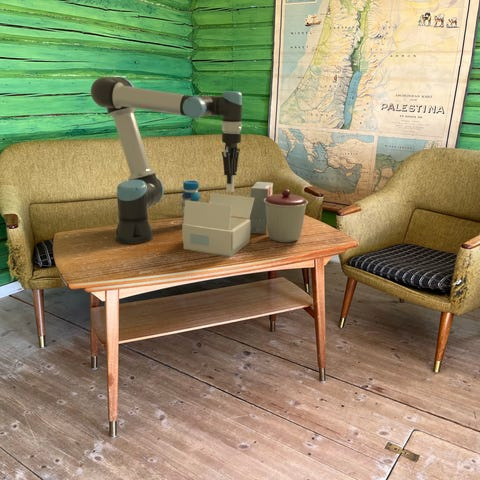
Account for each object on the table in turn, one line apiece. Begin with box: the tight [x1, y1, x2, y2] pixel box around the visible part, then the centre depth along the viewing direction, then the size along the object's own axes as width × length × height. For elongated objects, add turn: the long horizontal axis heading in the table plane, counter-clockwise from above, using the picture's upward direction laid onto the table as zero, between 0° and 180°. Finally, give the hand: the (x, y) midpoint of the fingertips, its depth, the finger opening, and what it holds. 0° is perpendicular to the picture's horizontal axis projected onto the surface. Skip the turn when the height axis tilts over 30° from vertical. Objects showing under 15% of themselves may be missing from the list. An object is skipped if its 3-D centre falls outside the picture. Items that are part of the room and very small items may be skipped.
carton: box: [181, 216, 251, 258], centre depth 191 cm, size 22×18×10 cm
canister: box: [264, 188, 309, 243], centre depth 200 cm, size 18×18×21 cm
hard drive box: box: [249, 181, 274, 235], centre depth 213 cm, size 16×8×20 cm, turn 168°
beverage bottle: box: [181, 180, 201, 220], centre depth 216 cm, size 8×8×20 cm
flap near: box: [182, 200, 232, 230], centre depth 180 cm, size 19×9×1 cm
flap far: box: [208, 192, 254, 219], centre depth 199 cm, size 19×9×1 cm
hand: (230, 191), depth 198 cm, fingers closed
